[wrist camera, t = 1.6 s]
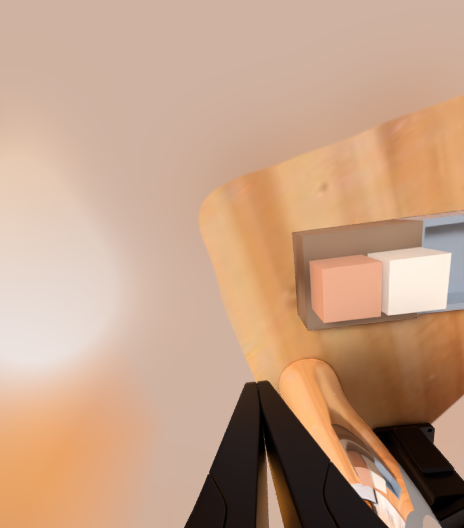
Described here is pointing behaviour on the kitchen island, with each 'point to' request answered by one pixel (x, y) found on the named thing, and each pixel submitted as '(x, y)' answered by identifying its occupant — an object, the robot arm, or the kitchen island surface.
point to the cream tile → (413, 280)
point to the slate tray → (447, 250)
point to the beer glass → (353, 445)
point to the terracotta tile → (346, 288)
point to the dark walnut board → (348, 244)
